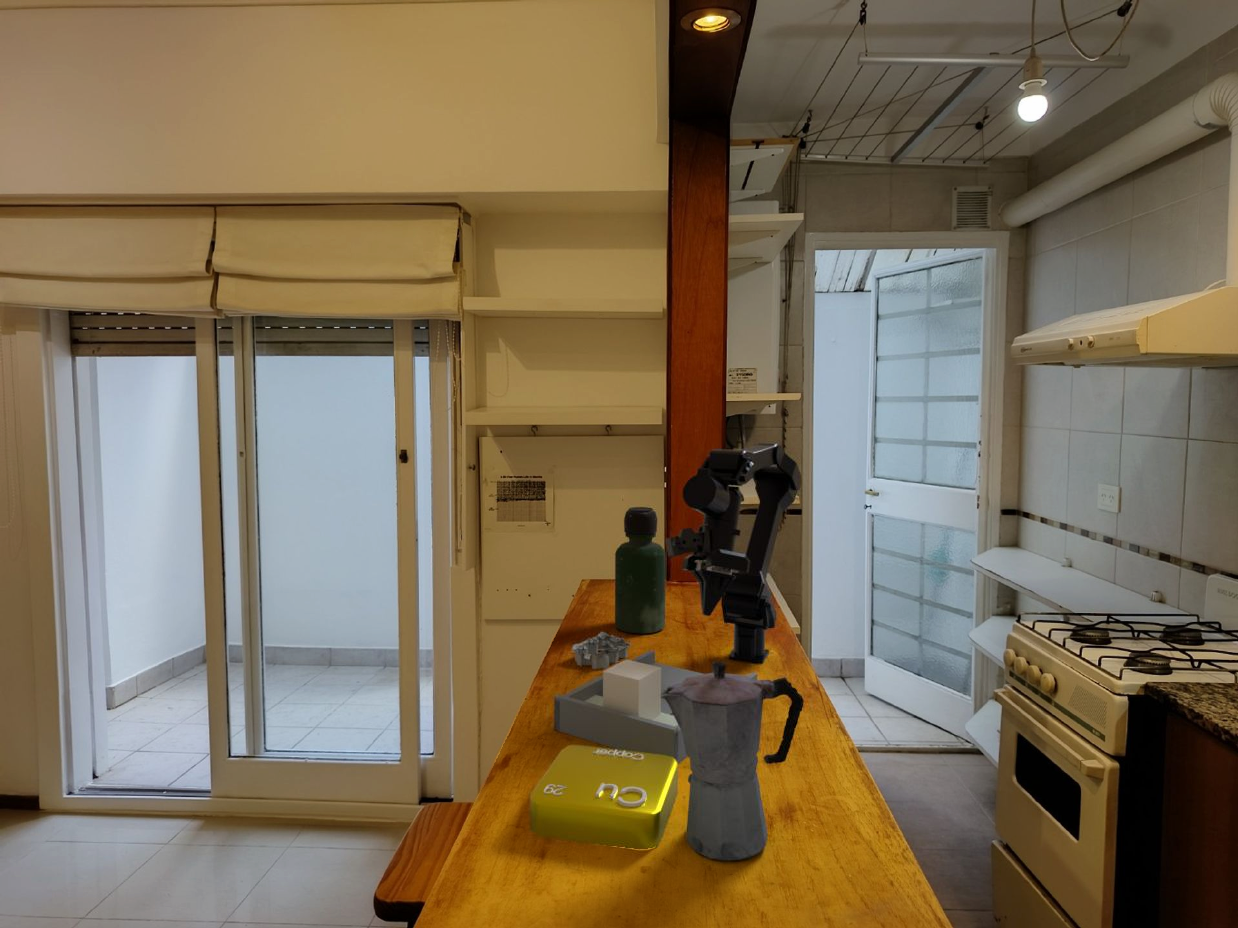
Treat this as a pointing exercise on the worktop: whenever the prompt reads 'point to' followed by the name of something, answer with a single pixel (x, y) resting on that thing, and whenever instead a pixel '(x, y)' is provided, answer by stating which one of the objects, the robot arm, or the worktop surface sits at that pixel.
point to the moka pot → (727, 757)
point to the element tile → (605, 797)
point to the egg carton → (608, 654)
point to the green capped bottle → (640, 575)
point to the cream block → (633, 689)
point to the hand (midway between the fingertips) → (706, 615)
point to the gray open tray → (624, 716)
